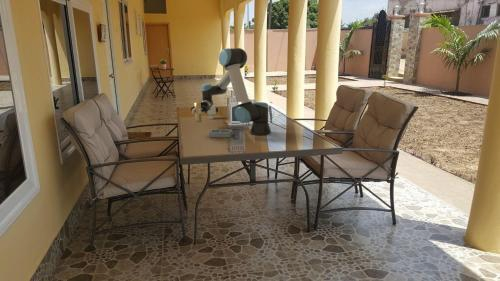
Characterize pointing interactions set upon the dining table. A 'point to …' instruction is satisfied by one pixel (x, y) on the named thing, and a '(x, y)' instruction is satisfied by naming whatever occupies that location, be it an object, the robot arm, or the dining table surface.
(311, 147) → the dining table surface
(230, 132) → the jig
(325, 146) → the dining table surface
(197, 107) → the gold metal cylinder
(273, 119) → the dining table surface
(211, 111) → the pneumatic valve
